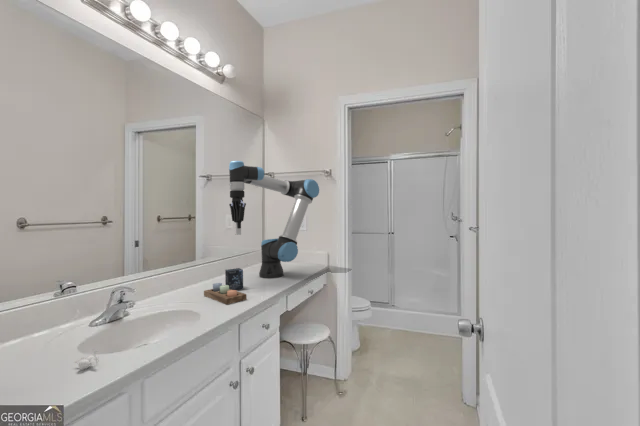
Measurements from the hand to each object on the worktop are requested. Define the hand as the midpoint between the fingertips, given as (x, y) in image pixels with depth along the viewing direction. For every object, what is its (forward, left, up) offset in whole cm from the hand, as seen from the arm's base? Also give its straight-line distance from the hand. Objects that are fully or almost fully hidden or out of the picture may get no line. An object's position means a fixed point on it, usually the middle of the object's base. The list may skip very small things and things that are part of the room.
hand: (238, 234), depth 168 cm
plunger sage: (+15, +12, -27) cm, 33 cm away
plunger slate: (+15, +5, -27) cm, 31 cm away
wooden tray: (+15, +12, -28) cm, 34 cm away
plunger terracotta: (+15, +19, -28) cm, 37 cm away
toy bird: (+73, +47, -29) cm, 91 cm away
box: (+4, +1, -29) cm, 29 cm away
